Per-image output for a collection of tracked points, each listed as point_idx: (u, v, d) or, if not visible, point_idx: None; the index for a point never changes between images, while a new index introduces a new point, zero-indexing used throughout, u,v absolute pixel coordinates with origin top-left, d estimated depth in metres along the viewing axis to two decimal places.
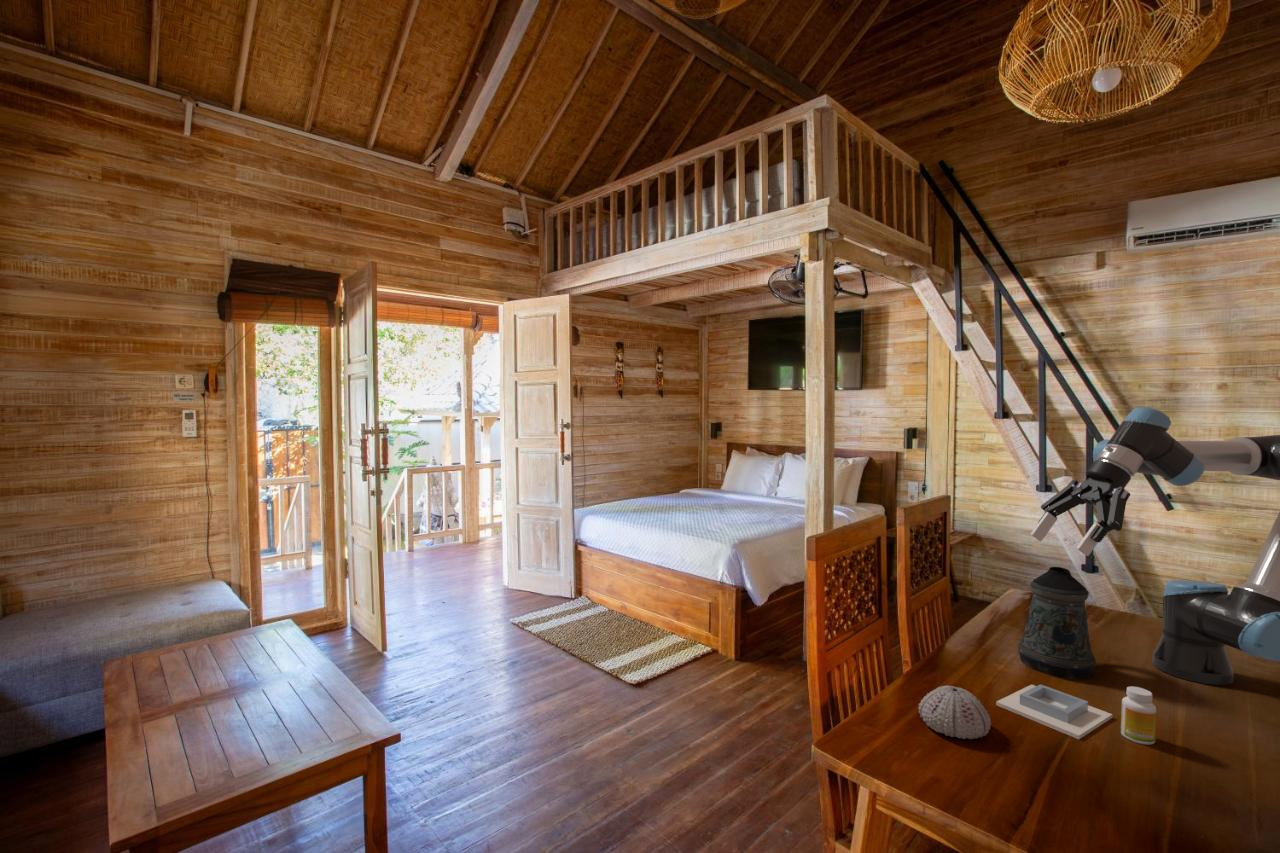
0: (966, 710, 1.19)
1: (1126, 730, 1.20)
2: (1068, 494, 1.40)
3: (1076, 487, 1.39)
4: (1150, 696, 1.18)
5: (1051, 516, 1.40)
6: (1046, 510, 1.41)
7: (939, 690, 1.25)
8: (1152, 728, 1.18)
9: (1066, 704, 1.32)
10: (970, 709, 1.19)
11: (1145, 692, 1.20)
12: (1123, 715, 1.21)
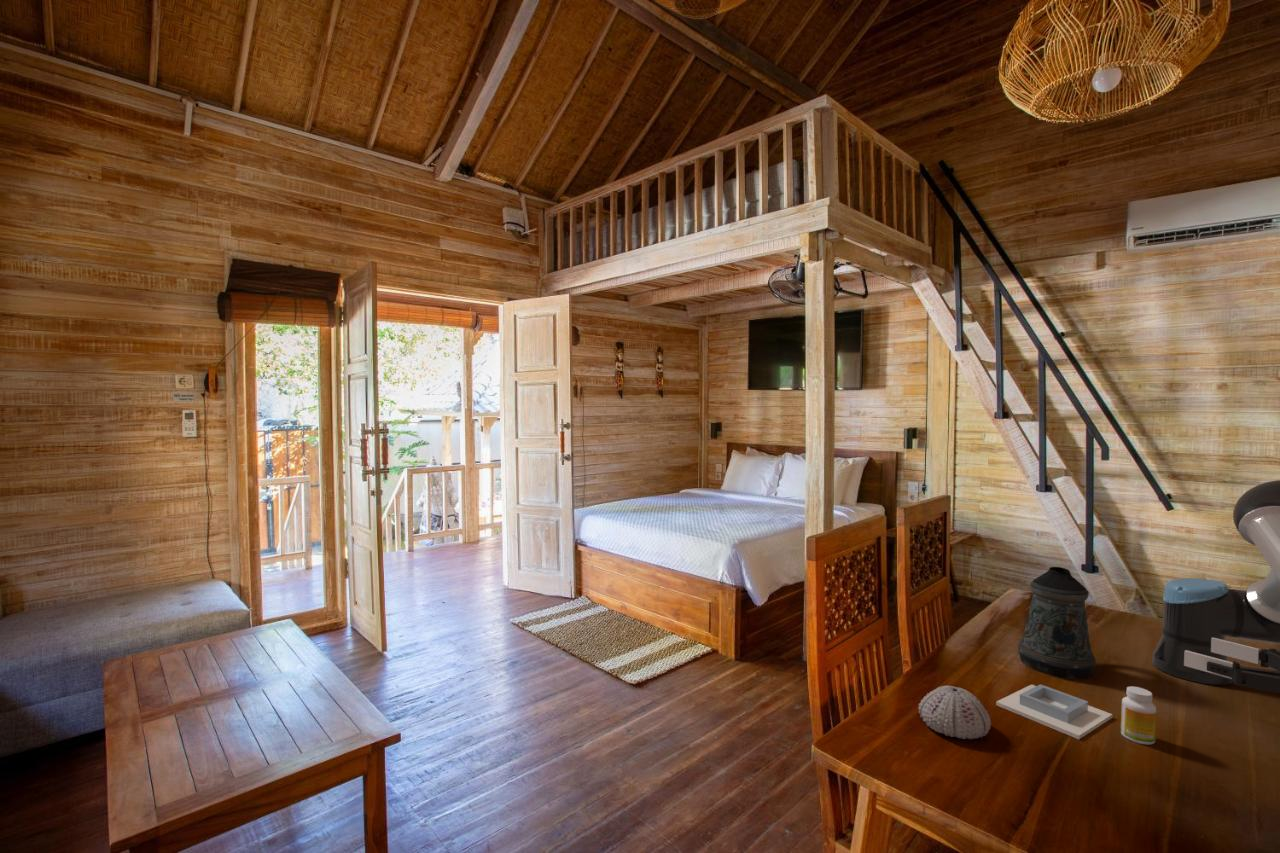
0: (966, 710, 1.19)
1: (1126, 730, 1.20)
2: None
3: None
4: (1150, 696, 1.18)
5: None
6: None
7: (939, 690, 1.25)
8: (1152, 728, 1.18)
9: (1066, 704, 1.32)
10: (970, 709, 1.19)
11: (1145, 692, 1.20)
12: (1123, 715, 1.21)
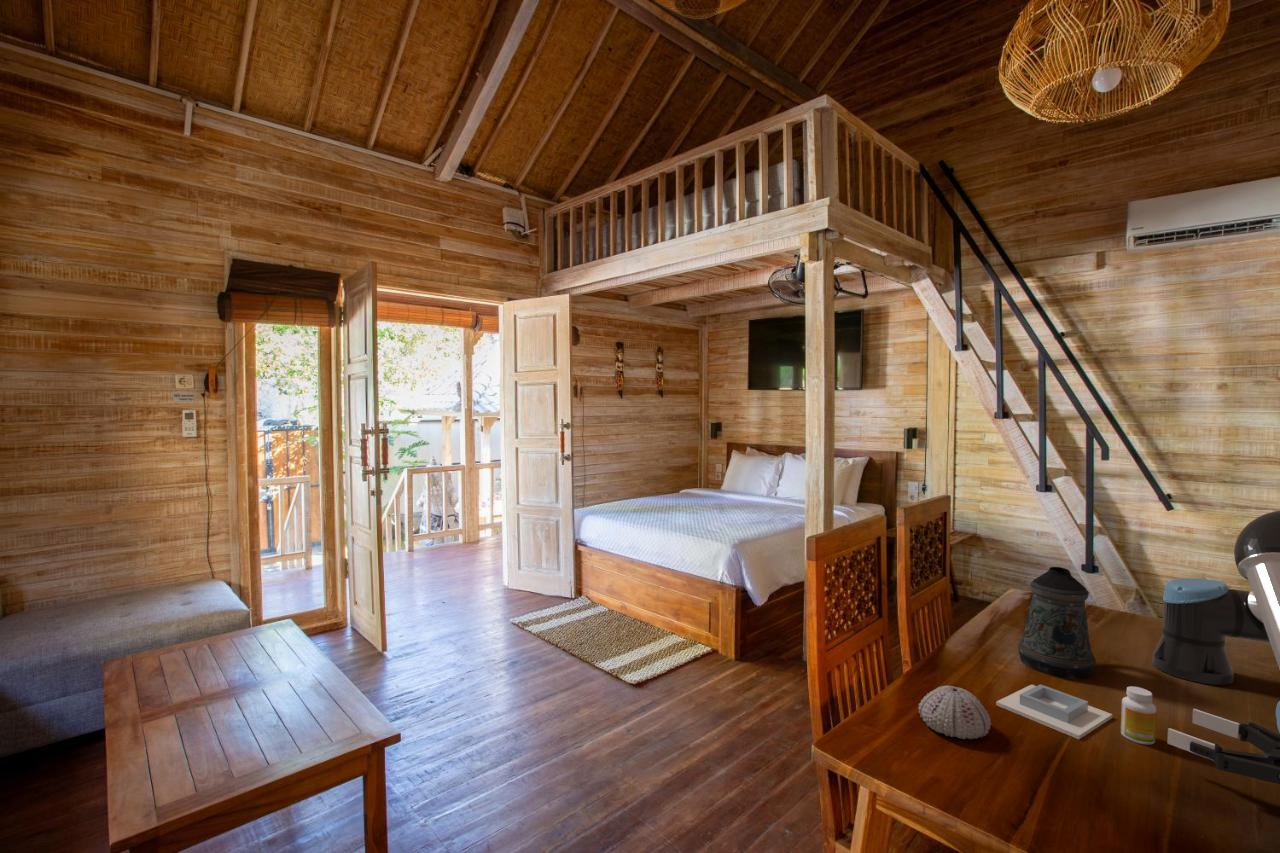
0: (966, 710, 1.19)
1: (1126, 730, 1.20)
2: None
3: None
4: (1150, 696, 1.18)
5: None
6: None
7: (939, 690, 1.25)
8: (1152, 728, 1.18)
9: (1066, 704, 1.32)
10: (970, 709, 1.19)
11: (1145, 692, 1.20)
12: (1123, 715, 1.21)
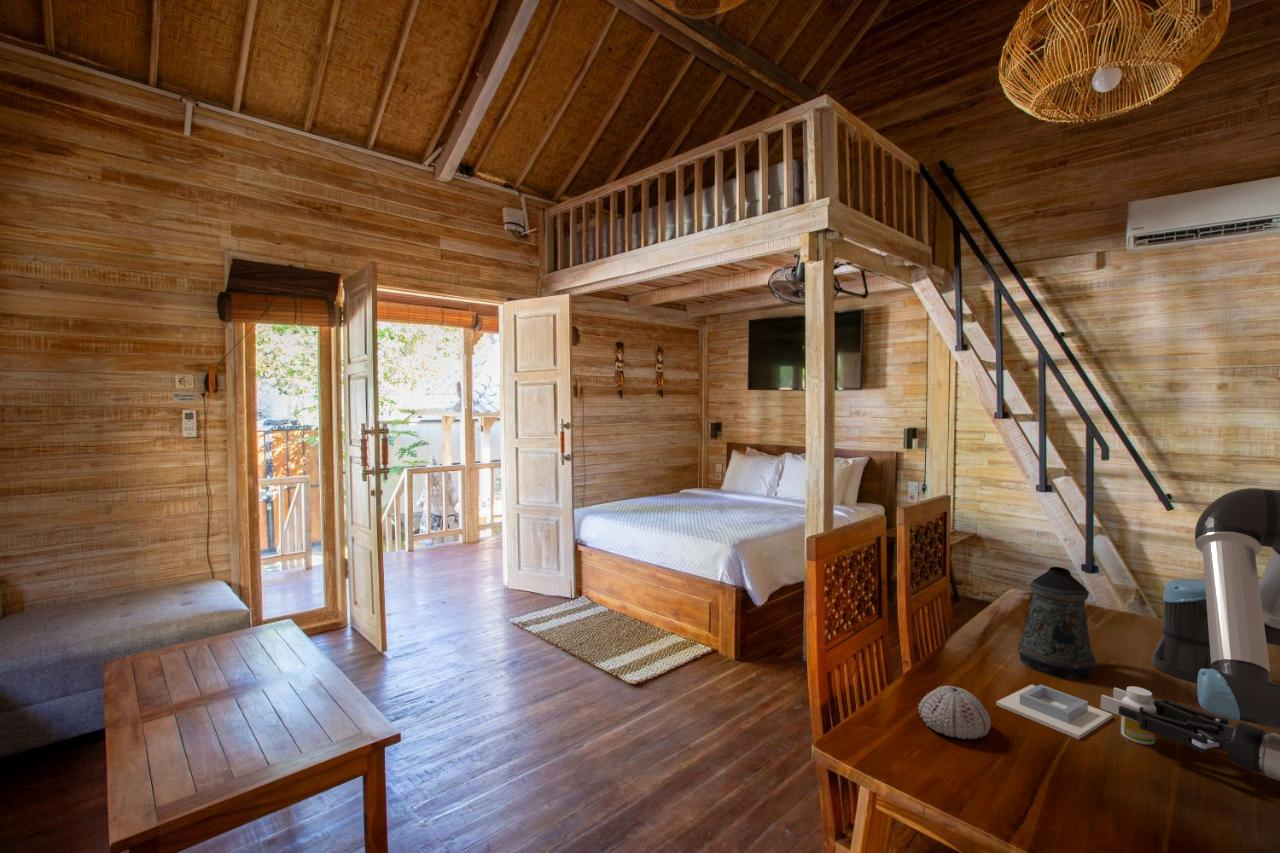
0: (966, 710, 1.19)
1: (1126, 730, 1.20)
2: None
3: None
4: (1150, 696, 1.18)
5: None
6: None
7: (939, 690, 1.25)
8: None
9: (1066, 704, 1.32)
10: (970, 709, 1.19)
11: (1145, 691, 1.20)
12: None
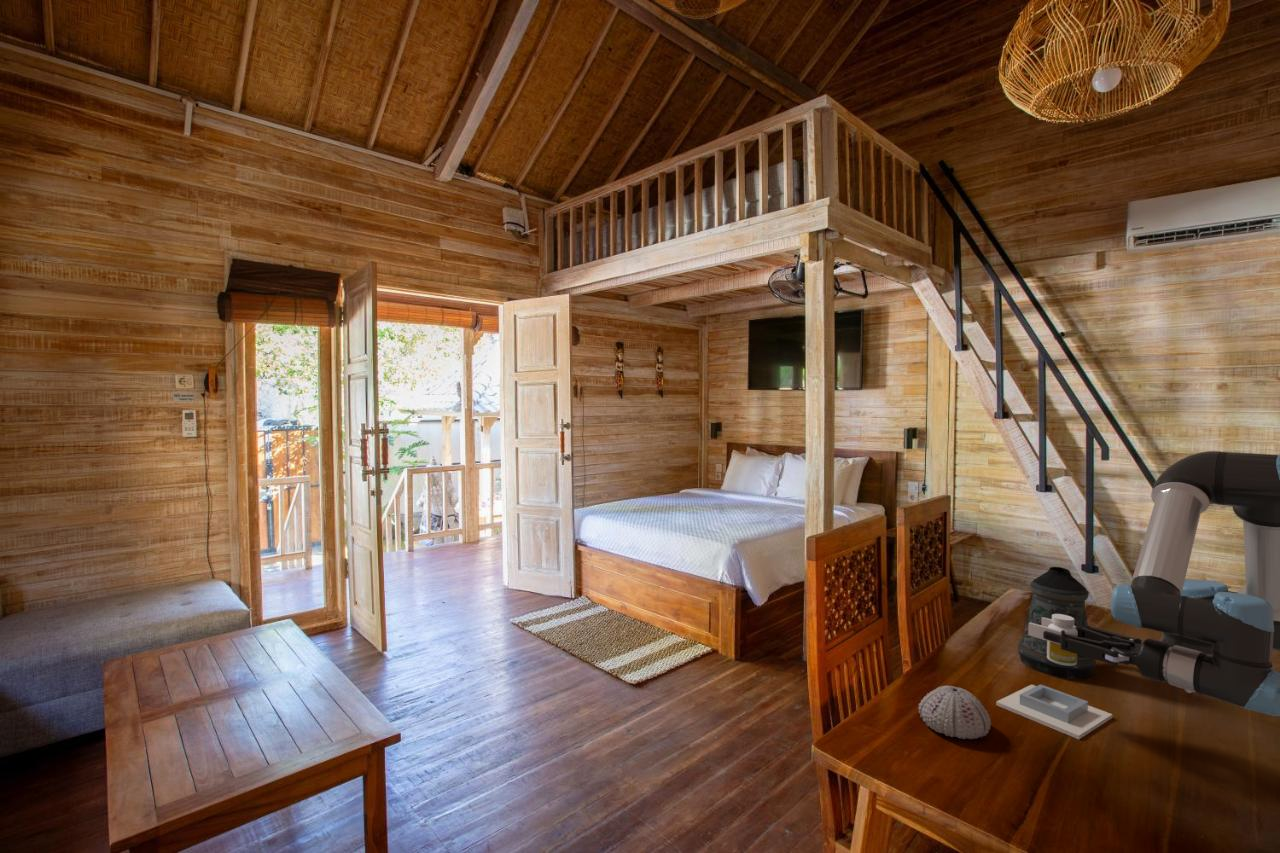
0: (966, 710, 1.19)
1: (1050, 654, 1.29)
2: None
3: None
4: (1072, 621, 1.27)
5: None
6: None
7: (939, 690, 1.25)
8: None
9: (1066, 704, 1.32)
10: (970, 709, 1.19)
11: (1068, 617, 1.28)
12: None
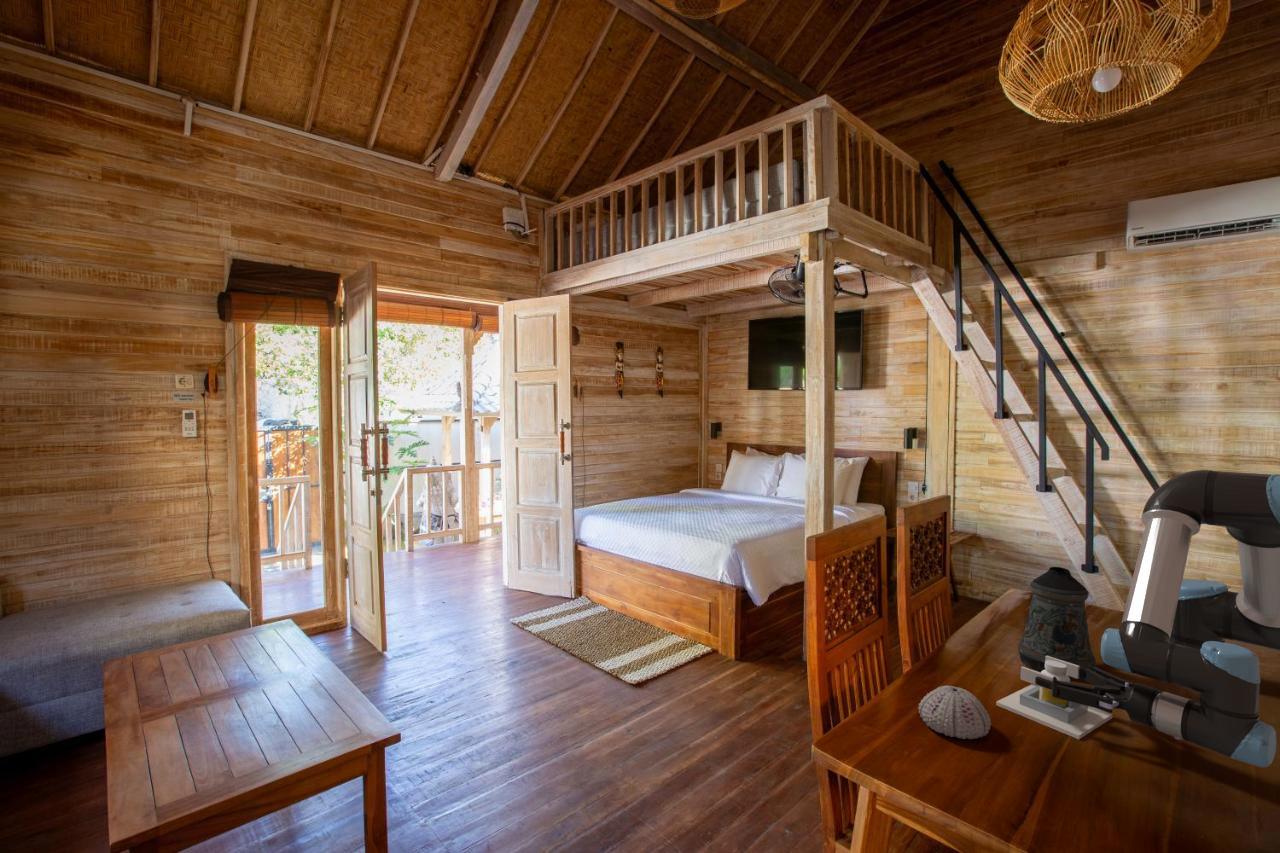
0: (966, 710, 1.19)
1: (1042, 700, 1.30)
2: None
3: None
4: (1064, 668, 1.29)
5: None
6: None
7: (939, 690, 1.25)
8: None
9: None
10: (970, 709, 1.19)
11: (1061, 664, 1.30)
12: None
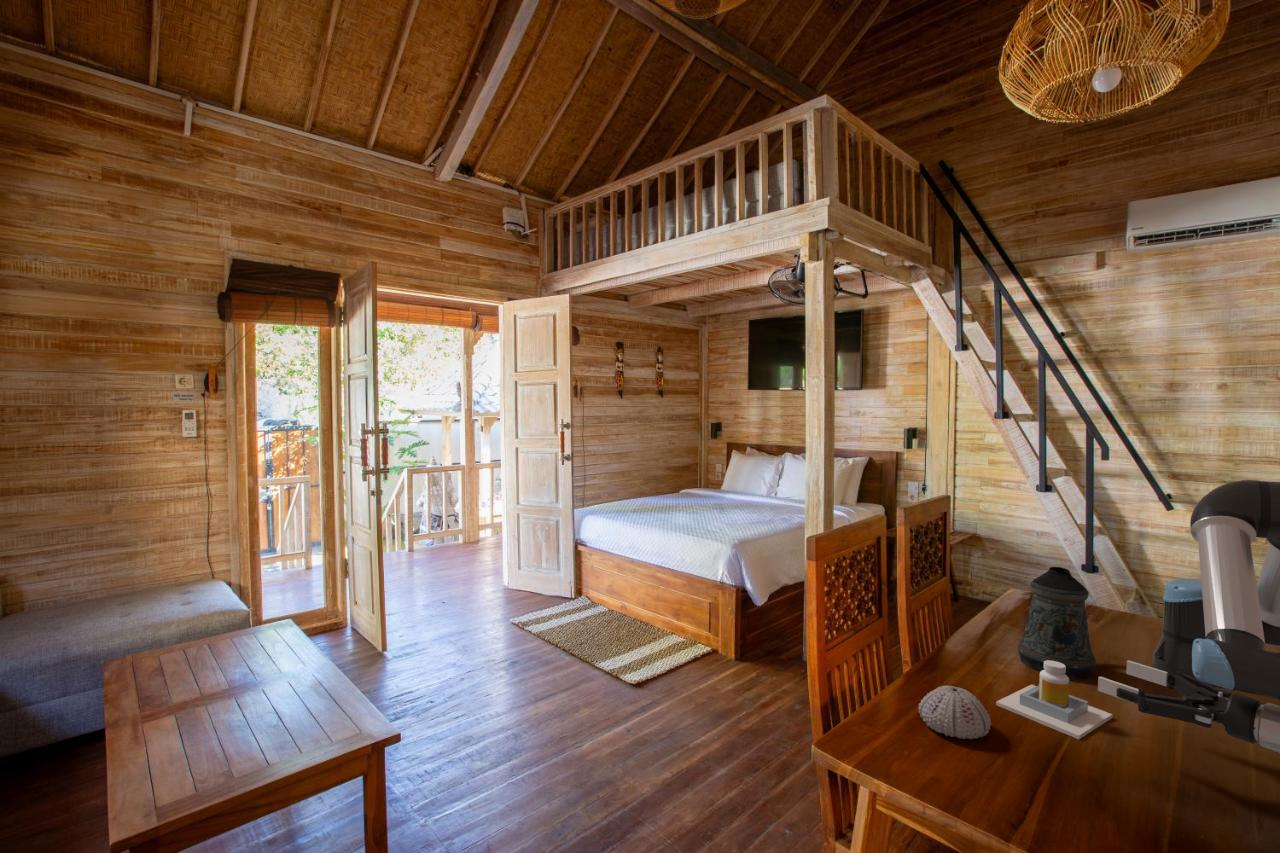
0: (966, 710, 1.19)
1: None
2: None
3: None
4: (1063, 668, 1.29)
5: None
6: None
7: (939, 690, 1.25)
8: (1065, 698, 1.28)
9: None
10: (970, 709, 1.19)
11: (1060, 664, 1.30)
12: (1040, 686, 1.31)
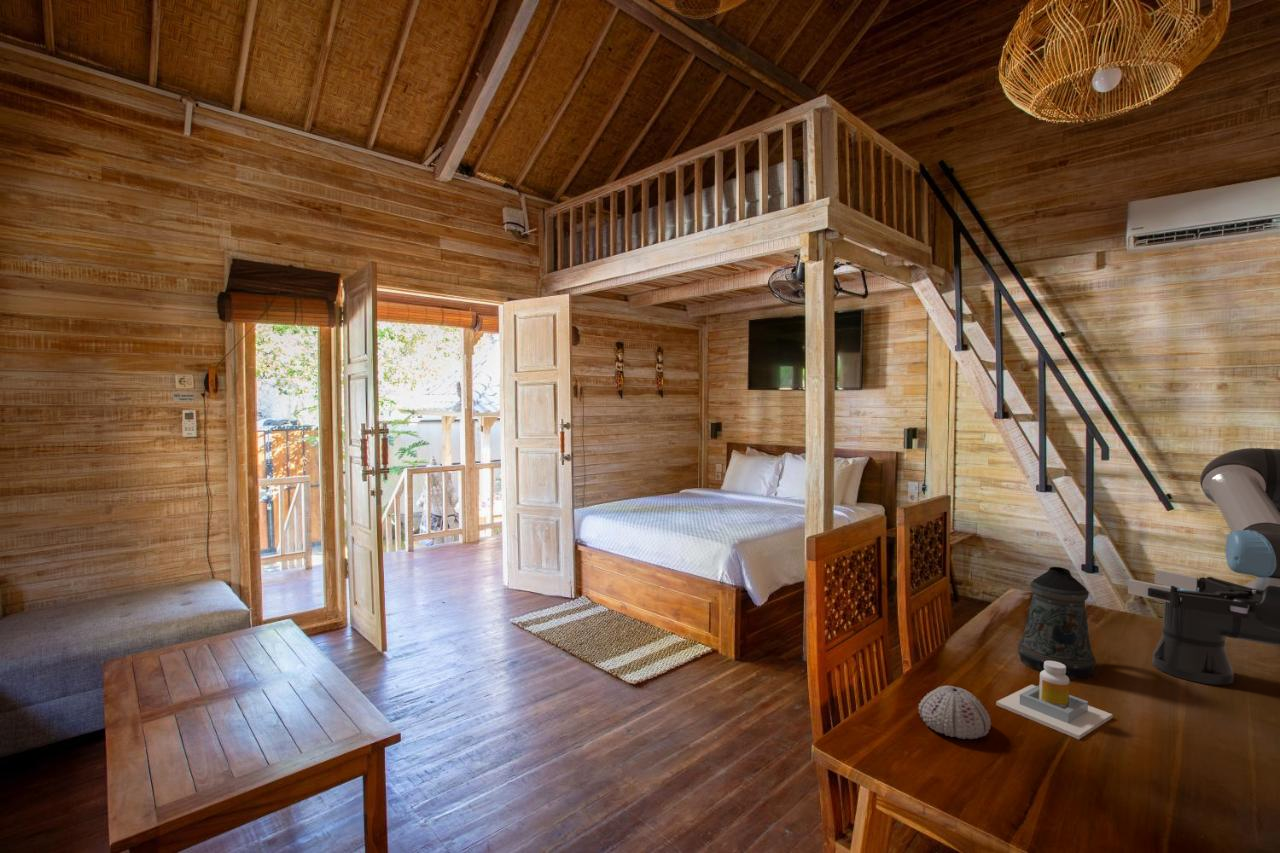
0: (966, 710, 1.19)
1: None
2: None
3: None
4: (1064, 669, 1.28)
5: None
6: None
7: (939, 690, 1.25)
8: (1065, 698, 1.28)
9: None
10: (970, 709, 1.19)
11: (1060, 665, 1.30)
12: (1040, 687, 1.31)
